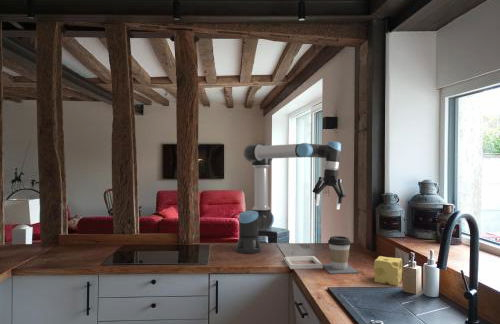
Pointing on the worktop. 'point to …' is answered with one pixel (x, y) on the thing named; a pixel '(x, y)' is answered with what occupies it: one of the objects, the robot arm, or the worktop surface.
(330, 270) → the rubber mat
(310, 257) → the holder frame
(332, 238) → the coffee cup
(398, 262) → the cheese
